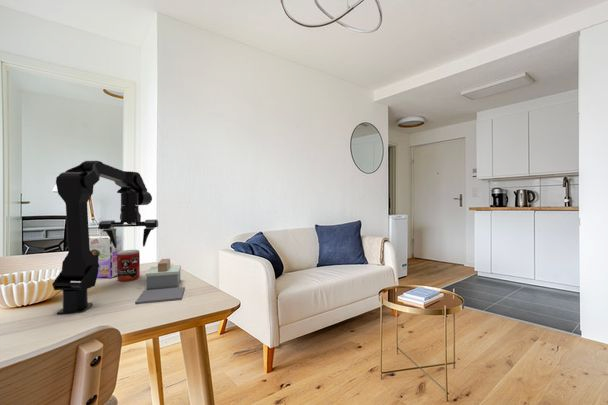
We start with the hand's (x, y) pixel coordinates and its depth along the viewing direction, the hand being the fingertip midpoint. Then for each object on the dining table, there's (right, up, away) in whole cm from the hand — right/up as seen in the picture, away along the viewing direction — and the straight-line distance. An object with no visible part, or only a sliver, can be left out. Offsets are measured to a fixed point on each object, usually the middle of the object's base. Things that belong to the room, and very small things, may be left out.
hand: (130, 247), depth 111 cm
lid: (+14, -10, -2) cm, 17 cm away
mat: (+18, -14, -14) cm, 27 cm away
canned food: (-5, -14, +7) cm, 16 cm away
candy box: (-19, -14, +11) cm, 26 cm away
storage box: (+14, -14, -2) cm, 20 cm away
